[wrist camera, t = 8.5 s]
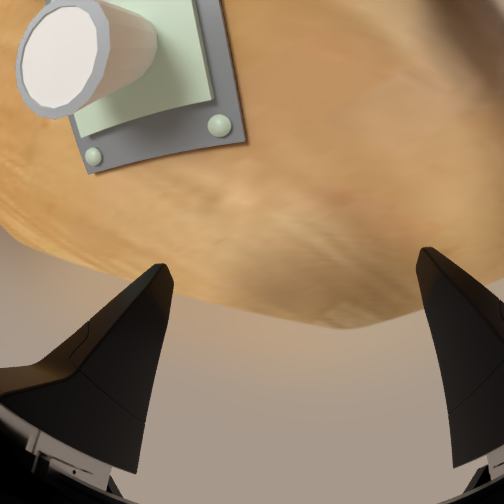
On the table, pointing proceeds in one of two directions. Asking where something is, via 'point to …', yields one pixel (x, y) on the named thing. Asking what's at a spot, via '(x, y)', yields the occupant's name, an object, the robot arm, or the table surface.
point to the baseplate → (167, 91)
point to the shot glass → (81, 55)
